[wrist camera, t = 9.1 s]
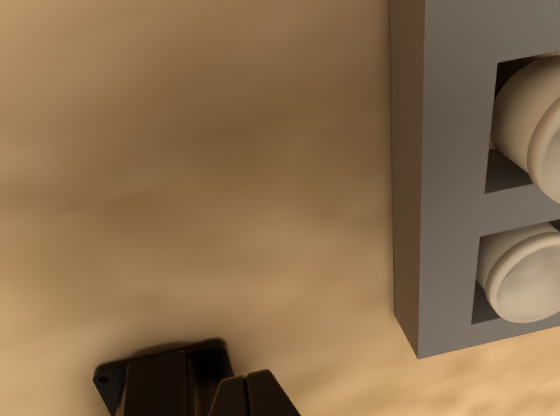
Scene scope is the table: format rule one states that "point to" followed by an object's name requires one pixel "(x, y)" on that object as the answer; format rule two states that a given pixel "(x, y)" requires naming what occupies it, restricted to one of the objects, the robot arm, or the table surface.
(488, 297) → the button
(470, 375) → the table surface
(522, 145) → the middle button
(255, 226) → the table surface
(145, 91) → the table surface
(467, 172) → the button panel
